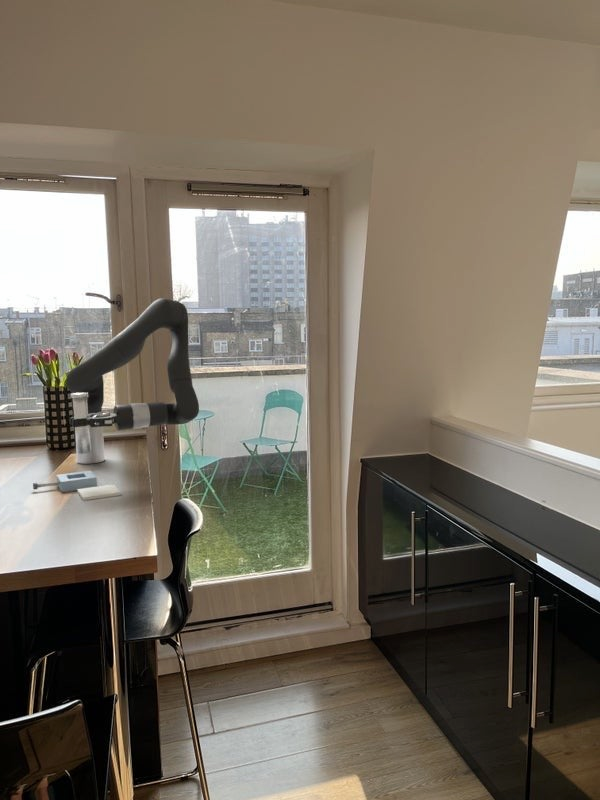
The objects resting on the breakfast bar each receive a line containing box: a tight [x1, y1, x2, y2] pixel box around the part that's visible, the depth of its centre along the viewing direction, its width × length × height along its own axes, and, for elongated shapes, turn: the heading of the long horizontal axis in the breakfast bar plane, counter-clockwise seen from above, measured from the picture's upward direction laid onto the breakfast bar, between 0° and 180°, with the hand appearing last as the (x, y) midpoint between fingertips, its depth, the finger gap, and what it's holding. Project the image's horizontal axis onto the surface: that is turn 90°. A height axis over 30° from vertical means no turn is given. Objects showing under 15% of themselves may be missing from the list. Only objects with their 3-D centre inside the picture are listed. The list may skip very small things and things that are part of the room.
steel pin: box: [70, 393, 91, 454], centre depth 178 cm, size 5×5×17 cm
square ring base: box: [32, 470, 98, 493], centre depth 182 cm, size 10×17×3 cm, turn 119°
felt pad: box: [76, 484, 122, 501], centre depth 175 cm, size 10×10×1 cm
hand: (71, 422), depth 177 cm, fingers closed on steel pin, 3 cm apart
